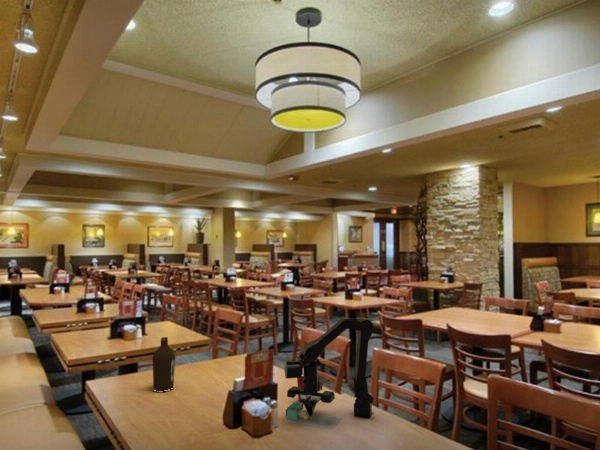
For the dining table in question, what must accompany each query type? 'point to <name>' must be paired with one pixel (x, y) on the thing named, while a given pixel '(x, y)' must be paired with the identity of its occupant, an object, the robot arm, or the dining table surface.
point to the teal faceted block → (294, 410)
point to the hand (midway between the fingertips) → (310, 416)
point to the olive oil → (163, 367)
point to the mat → (318, 421)
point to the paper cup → (300, 384)
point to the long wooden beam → (301, 414)
